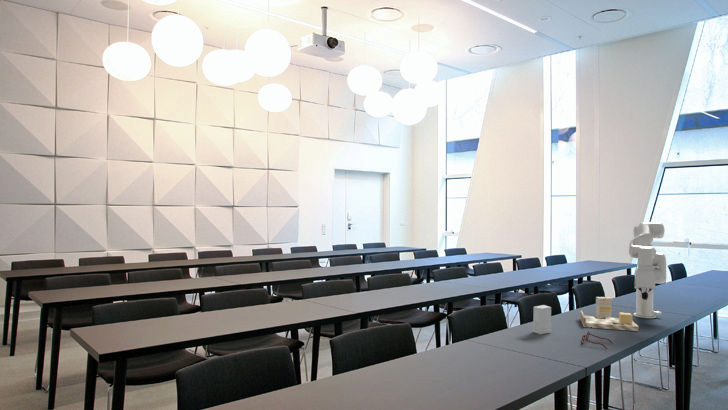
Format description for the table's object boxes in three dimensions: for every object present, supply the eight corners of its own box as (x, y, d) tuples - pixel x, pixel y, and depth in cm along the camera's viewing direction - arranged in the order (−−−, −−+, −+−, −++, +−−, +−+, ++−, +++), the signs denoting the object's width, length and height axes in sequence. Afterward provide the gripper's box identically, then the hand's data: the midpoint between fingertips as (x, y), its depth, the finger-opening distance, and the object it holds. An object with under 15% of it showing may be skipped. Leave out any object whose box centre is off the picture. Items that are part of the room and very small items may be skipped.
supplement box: (608, 317, 314) (609, 296, 314) (611, 318, 309) (612, 298, 309) (595, 316, 315) (595, 296, 315) (598, 318, 310) (598, 297, 310)
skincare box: (543, 330, 279) (543, 304, 279) (551, 333, 274) (551, 306, 274) (532, 332, 276) (532, 305, 276) (540, 334, 270) (540, 308, 270)
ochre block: (630, 321, 292) (630, 313, 292) (632, 323, 286) (632, 315, 286) (619, 320, 294) (619, 312, 294) (620, 322, 288) (621, 314, 288)
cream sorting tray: (631, 323, 298) (631, 314, 298) (638, 331, 279) (638, 321, 279) (579, 319, 307) (580, 310, 307) (583, 326, 288) (583, 317, 288)
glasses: (587, 339, 262) (587, 330, 262) (614, 344, 254) (614, 334, 254) (580, 345, 252) (580, 335, 252) (607, 350, 244) (607, 340, 244)
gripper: (657, 268, 288) (657, 299, 288) (629, 266, 293) (629, 297, 293) (661, 269, 281) (660, 301, 281) (632, 268, 286) (631, 299, 286)
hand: (644, 299), depth 287 cm, fingers closed
